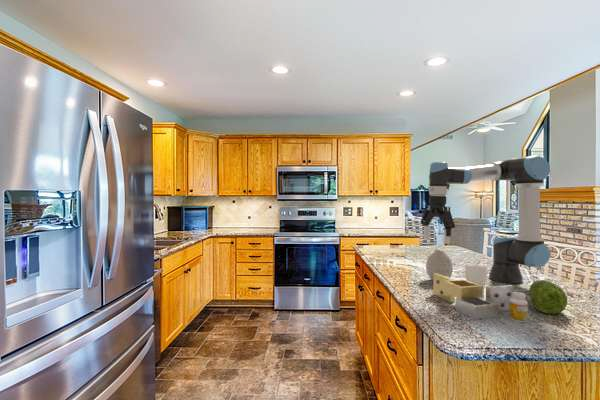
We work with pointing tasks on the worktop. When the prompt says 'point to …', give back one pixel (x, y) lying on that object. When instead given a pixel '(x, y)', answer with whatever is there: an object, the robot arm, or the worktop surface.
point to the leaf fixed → (487, 302)
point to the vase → (439, 264)
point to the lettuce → (547, 297)
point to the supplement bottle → (518, 307)
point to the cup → (476, 274)
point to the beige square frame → (455, 288)
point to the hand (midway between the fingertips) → (436, 241)
